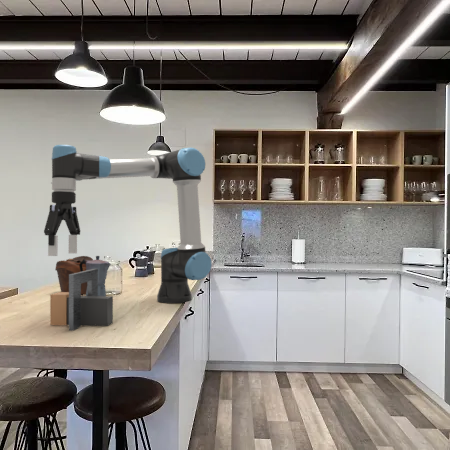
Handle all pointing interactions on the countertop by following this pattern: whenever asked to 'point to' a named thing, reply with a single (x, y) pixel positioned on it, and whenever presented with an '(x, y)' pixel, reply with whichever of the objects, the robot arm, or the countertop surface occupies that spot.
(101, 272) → the moka pot
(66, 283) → the case
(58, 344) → the countertop surface
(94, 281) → the grey arch
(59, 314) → the plug
